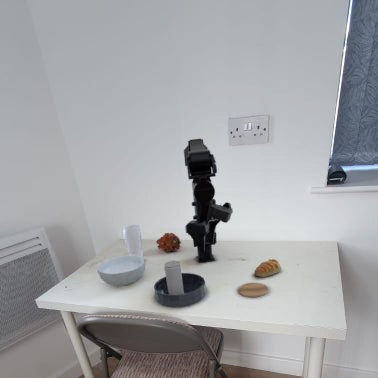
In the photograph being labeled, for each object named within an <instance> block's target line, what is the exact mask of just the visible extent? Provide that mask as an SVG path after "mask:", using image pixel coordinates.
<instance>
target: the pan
mask: <svg viewBox="0 0 378 378" xmlns="http://www.w3.org/2000/svg"><path fill="white" fill-rule="evenodd" d="M181 274H182V282H183V289H184V294H181V295H169V292H168V286H167V280H166V275H165V276H163V277H161V278H160V279H158V280H157V281H156V282H155V283H154V285H153V291H154V296H155V300H156V302H157V303H158V304H160V305H161V306H163V307H168V308H184V307H189V306H193V305H195V304H198V303H200V301H202V300H203V299H204V298H205V296H206V294H207V288H206V280H205V278H204V277H203V276H201V275H199V274H197V273H192V272H181Z"/></svg>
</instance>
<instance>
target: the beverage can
mask: <svg viewBox="0 0 378 378" xmlns="http://www.w3.org/2000/svg"><path fill="white" fill-rule="evenodd" d="M163 267H164V273H165V276H166V280H167V286H168V292H169V295H181V294H184V289H183V282H182V274H181V273H182V265H181V263H180V261H179V260H169V261H167V262H165V263H164V265H163Z"/></svg>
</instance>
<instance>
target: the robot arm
mask: <svg viewBox="0 0 378 378" xmlns="http://www.w3.org/2000/svg"><path fill="white" fill-rule="evenodd" d="M183 156H184V158H183V159H184V166H185V167H186V169H187V178H188V180H192V181H191V188H192V197H193V201H192V202H191V206H192V207H193V208H194V215H193V216H192V219H191V220H190V221H188V222H187V224H186V225H185V226H184V228H185V229H184V230H185V233H186V234H187V235H189V236H190V238H191V239H192V244H193V248H196V250H197V255H196V256H195V258H196V260H197V262H198V263H206V262H213V261H215V260H216V259H215V256H214V255H213V246H216V245H217V241H218V240H217V232H216V229H217V226H218V225H219V224H220V223H221V222H222V223H223V224H225V223H228V222H229V221H230V220H231V217H232V215H233V213H234V210H233V208H232V203H230V202H227V201H226V202H224V203H223V205H222V204H217V201H216V198H214V197H215V194H216V190H215V186H214V185H213V183H212V179H211V178H214V177H216V174H217V173H218V168H217V161H216V157H215V155H214V153H211V150H210V148H209V149H208V147H207V145H205V143H204V139H203V138H193V139H189V140H187V146H186V147H185V148H184V149H183Z"/></svg>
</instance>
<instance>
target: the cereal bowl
mask: <svg viewBox="0 0 378 378" xmlns="http://www.w3.org/2000/svg"><path fill="white" fill-rule="evenodd" d="M143 258H144V257H143ZM143 258H142V257H140V256H137V255H129V254H121V255H117V256H113V257H110V258H107V259H105V260H103V261H101V262H100V263H99V264H98V265H97V267H96V268H97V269H96V270H97V274H98V276H99V278H100V279H101V280H102V281H103V282H104V283H106V284H109V285H111V286H120V287H122V286H127V285H130V284H132V283H134V282H136V281H138V280H139V279H140V278H141V277H142V276H143V275H144V273H145V271H146V262H145V261H146V260H145V258H144V259H143Z"/></svg>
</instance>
